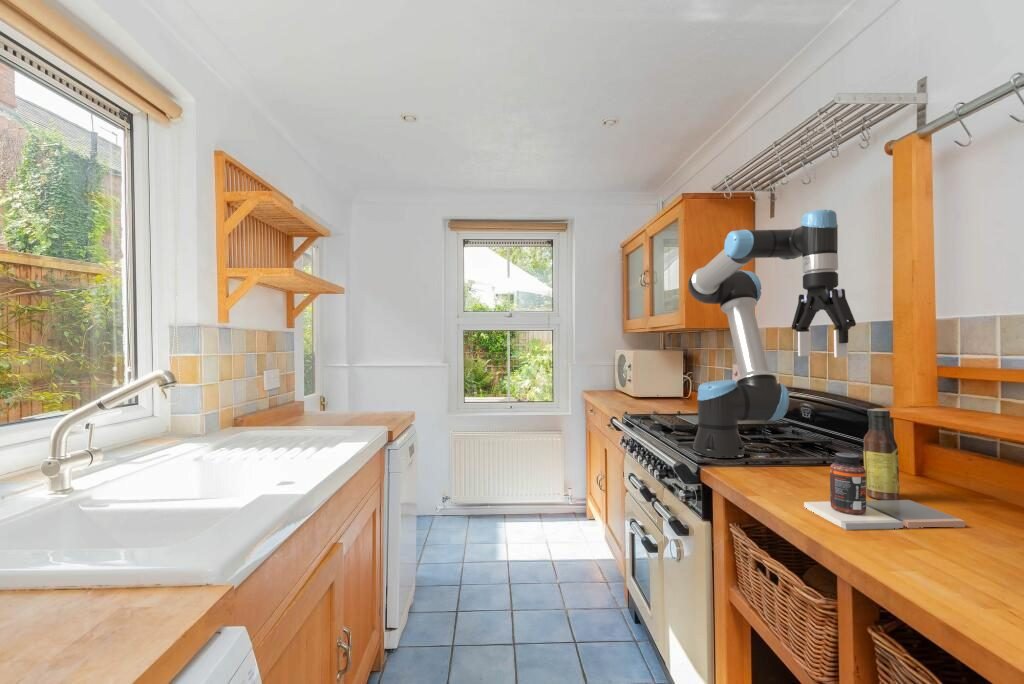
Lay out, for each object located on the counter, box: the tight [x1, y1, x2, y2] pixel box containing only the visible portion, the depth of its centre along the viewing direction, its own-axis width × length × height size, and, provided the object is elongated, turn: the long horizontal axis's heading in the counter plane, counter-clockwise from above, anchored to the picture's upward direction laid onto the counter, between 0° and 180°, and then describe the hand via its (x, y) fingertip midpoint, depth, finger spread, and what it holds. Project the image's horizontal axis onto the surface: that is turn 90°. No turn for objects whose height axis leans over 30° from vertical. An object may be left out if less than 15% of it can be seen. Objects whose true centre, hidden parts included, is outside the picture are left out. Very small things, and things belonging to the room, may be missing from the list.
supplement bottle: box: [829, 452, 867, 514], centre depth 95 cm, size 6×6×11 cm
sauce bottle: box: [862, 408, 901, 500], centre depth 107 cm, size 6×6×20 cm
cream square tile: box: [803, 500, 904, 531], centre depth 95 cm, size 12×11×1 cm
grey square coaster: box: [866, 499, 966, 529], centre depth 95 cm, size 12×11×1 cm
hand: (821, 356), depth 119 cm, fingers open, 13 cm apart
